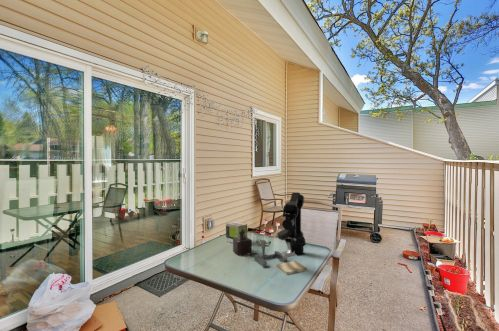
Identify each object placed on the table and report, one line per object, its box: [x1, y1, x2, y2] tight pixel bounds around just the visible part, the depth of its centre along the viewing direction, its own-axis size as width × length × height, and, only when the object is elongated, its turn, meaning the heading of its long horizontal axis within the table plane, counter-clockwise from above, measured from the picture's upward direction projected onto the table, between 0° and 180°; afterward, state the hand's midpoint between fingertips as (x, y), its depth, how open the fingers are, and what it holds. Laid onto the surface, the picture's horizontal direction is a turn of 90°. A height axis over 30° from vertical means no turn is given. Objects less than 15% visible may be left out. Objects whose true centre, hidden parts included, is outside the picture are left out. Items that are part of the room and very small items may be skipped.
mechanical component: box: [255, 239, 272, 256], centre depth 172 cm, size 3×10×10 cm, turn 79°
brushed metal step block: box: [281, 242, 296, 259], centre depth 150 cm, size 7×3×8 cm, turn 115°
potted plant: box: [232, 229, 253, 256], centre depth 176 cm, size 16×11×18 cm
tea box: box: [225, 221, 248, 244], centre depth 200 cm, size 15×10×15 cm
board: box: [275, 260, 308, 275], centre depth 151 cm, size 14×12×1 cm
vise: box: [254, 250, 288, 268], centre depth 161 cm, size 17×12×4 cm
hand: (291, 251), depth 150 cm, fingers closed on brushed metal step block, 3 cm apart
